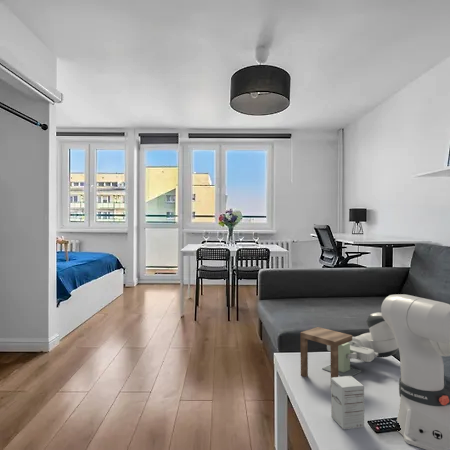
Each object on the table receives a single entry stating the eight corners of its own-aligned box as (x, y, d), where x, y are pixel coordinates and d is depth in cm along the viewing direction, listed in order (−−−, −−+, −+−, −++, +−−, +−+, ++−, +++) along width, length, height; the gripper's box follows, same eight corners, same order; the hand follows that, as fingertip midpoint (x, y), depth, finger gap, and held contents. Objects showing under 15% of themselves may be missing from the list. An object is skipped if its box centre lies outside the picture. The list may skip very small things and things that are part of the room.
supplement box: (330, 417, 112) (330, 377, 112) (352, 414, 113) (351, 375, 113) (342, 430, 104) (342, 387, 105) (365, 427, 106) (364, 385, 106)
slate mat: (361, 371, 147) (361, 370, 147) (348, 378, 140) (348, 377, 140) (335, 363, 156) (335, 362, 156) (322, 369, 150) (322, 368, 150)
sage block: (350, 369, 148) (349, 343, 148) (343, 372, 145) (343, 345, 145) (339, 365, 152) (339, 340, 152) (332, 369, 149) (332, 342, 149)
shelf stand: (352, 379, 139) (352, 335, 139) (335, 389, 131) (335, 341, 131) (318, 367, 151) (317, 326, 151) (300, 375, 143) (300, 332, 144)
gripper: (380, 361, 149) (363, 369, 140) (337, 348, 164) (319, 355, 155) (380, 346, 149) (363, 353, 140) (337, 335, 164) (319, 341, 155)
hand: (340, 354), depth 148 cm, fingers open, 5 cm apart
